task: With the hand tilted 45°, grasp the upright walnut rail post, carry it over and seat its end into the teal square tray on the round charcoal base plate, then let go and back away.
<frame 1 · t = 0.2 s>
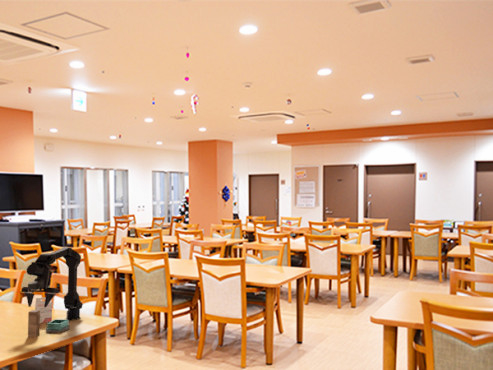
hand: (37, 307, 223), 15 cm above the table, tool tilted 15°, fingers open, 9 cm apart
rail post: (33, 335, 222), on the table
teal square tray: (57, 329, 233), on the table
ink cartridge box: (43, 322, 248), on the table
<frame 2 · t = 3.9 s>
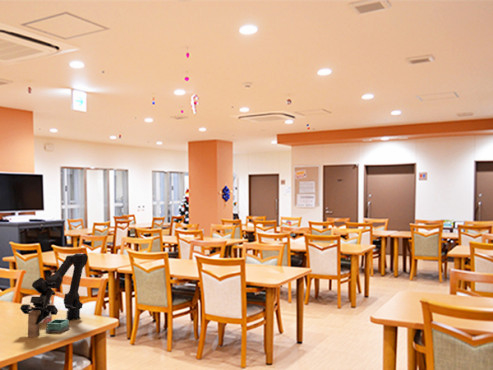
hand: (32, 323, 221), 7 cm above the table, tool tilted 45°, fingers closed on rail post, 4 cm apart
rail post: (33, 335, 222), on the table, touching gripper
everything else where it was.
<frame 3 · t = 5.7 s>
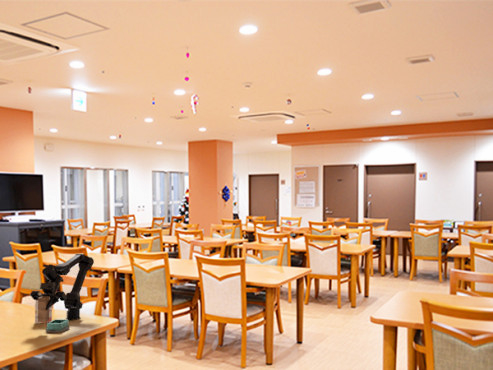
hand: (42, 309, 226), 13 cm above the table, tool tilted 45°, fingers closed on rail post, 4 cm apart
rail post: (43, 321, 227), point 6 cm above the table, touching gripper
everything else where it was.
when the fingers open (9 cm above the table, at t = 7.7 s): rail post drops 2 cm, resting on teal square tray.
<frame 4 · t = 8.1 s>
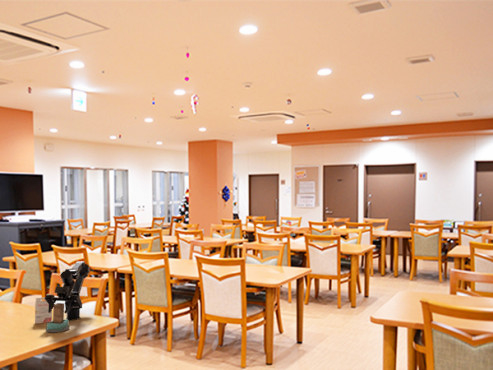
hand: (56, 312, 232), 10 cm above the table, tool tilted 45°, fingers open, 9 cm apart
rail post: (57, 327, 233), point 1 cm above the table, touching teal square tray
everything else where it was.
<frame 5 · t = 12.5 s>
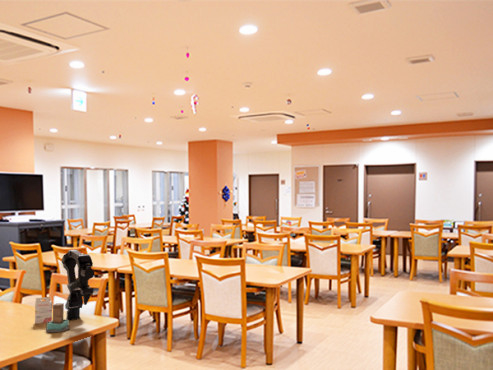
hand: (82, 303, 244), 12 cm above the table, tool pointing down, fingers open, 9 cm apart
nothing on the table moved.
at the end: rail post 0.0 cm off-centre on the teal square tray, point 1.0 cm above the teal square tray's base; rail post tilted 0°; the gripper is holding nothing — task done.
